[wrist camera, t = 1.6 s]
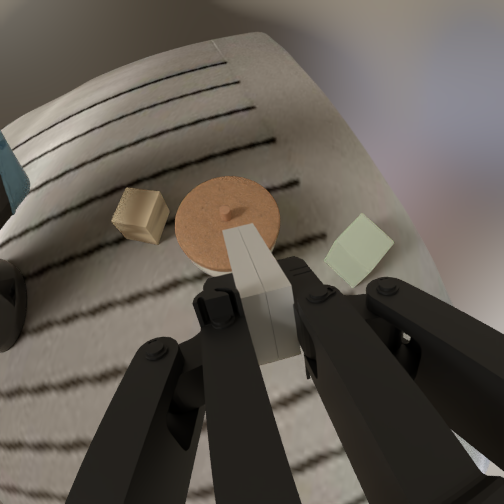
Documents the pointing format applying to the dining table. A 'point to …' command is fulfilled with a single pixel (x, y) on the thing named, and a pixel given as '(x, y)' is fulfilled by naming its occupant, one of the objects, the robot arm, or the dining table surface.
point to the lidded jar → (223, 219)
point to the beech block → (141, 215)
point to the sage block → (358, 250)
